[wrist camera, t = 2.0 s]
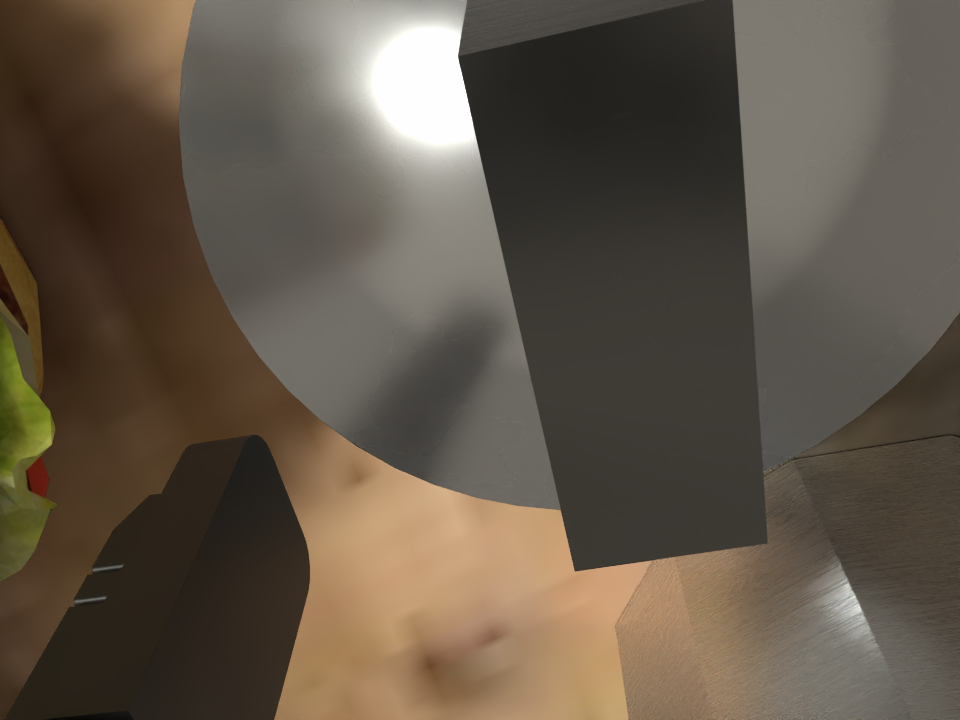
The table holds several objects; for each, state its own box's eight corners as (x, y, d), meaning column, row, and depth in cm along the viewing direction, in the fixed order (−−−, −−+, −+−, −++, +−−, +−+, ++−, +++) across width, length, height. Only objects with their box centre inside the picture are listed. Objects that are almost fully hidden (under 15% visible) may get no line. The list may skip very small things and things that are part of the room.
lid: (86, -177, 13) (-230, -174, 7) (1008, -433, 11) (1517, -686, 6) (346, 484, 20) (284, 751, 14) (948, 386, 18) (1153, 645, 12)
